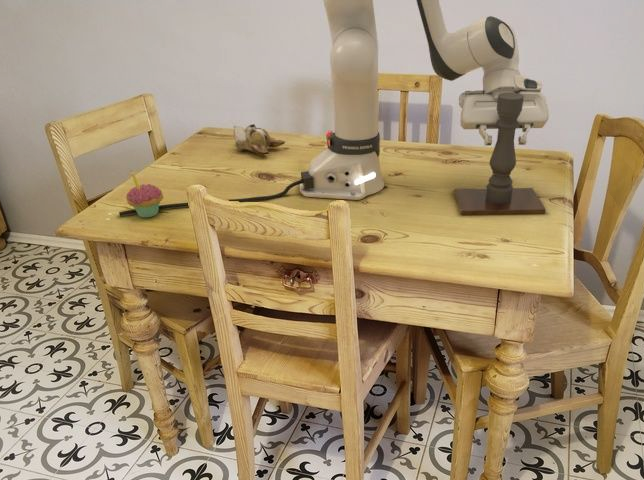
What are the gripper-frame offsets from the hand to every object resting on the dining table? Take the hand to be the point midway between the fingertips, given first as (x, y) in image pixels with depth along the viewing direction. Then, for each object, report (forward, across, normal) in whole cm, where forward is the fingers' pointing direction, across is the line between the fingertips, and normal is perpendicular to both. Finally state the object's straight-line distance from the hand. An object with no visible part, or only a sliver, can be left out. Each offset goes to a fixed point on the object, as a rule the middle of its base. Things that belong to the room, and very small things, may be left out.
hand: (505, 144), depth 141 cm
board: (+10, 0, +11) cm, 15 cm away
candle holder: (+10, 0, +11) cm, 14 cm away
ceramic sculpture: (-18, -66, +40) cm, 79 cm away
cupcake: (+12, -87, +10) cm, 88 cm away
